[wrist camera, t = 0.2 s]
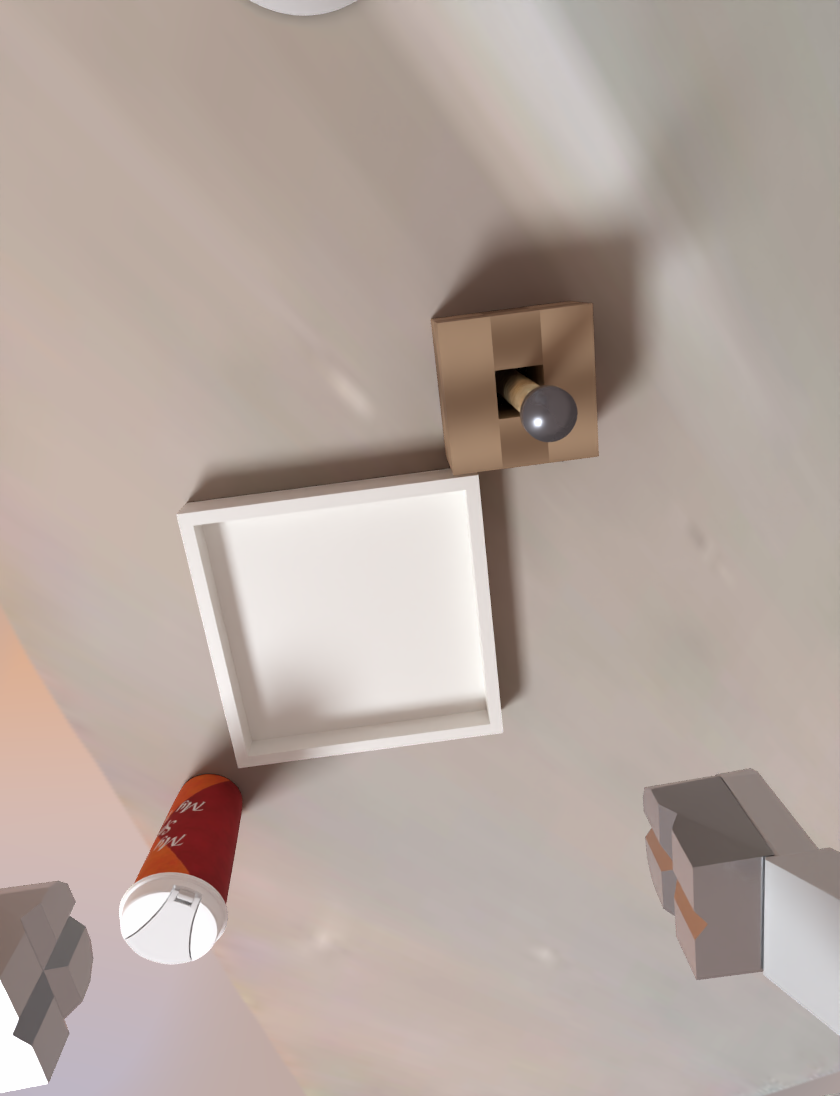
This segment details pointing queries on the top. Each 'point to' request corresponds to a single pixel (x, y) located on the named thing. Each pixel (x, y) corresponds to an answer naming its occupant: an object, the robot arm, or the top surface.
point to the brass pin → (538, 405)
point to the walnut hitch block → (504, 343)
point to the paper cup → (185, 875)
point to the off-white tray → (347, 615)
